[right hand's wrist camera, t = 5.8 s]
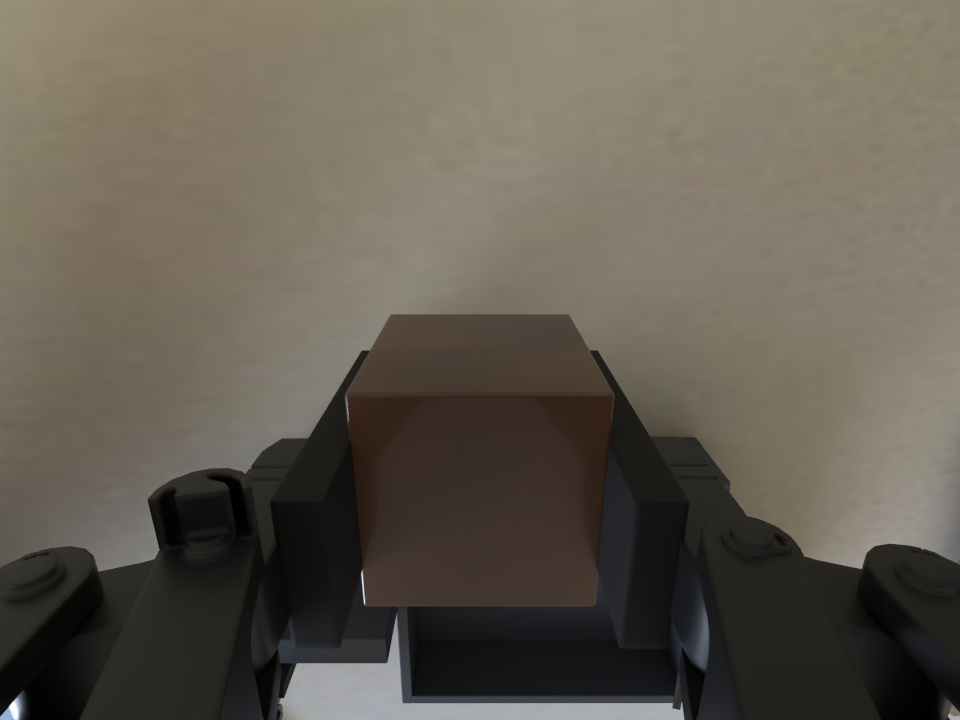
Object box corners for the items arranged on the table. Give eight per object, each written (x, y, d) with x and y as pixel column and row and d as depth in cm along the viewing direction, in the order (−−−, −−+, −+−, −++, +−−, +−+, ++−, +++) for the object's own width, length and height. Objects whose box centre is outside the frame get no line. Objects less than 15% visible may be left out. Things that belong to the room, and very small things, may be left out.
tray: (696, 437, 32) (761, 522, 25) (666, 637, 37) (712, 758, 30) (228, 437, 32) (152, 522, 25) (263, 638, 37) (209, 758, 30)
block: (569, 313, 14) (616, 393, 9) (561, 470, 15) (596, 607, 11) (389, 313, 14) (343, 393, 9) (398, 470, 15) (362, 607, 11)
